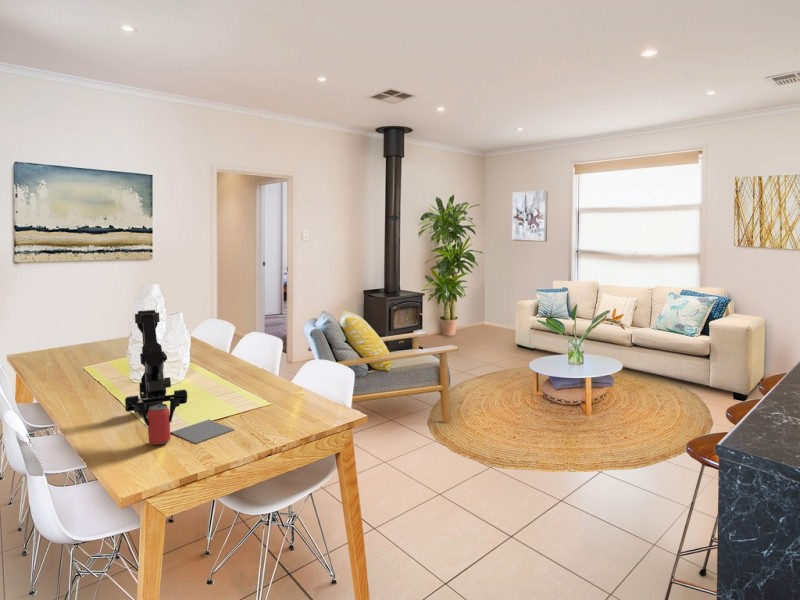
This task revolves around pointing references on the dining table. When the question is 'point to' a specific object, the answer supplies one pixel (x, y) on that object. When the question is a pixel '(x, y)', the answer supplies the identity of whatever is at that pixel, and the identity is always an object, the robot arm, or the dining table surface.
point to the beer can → (158, 424)
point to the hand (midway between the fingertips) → (159, 423)
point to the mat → (202, 431)
